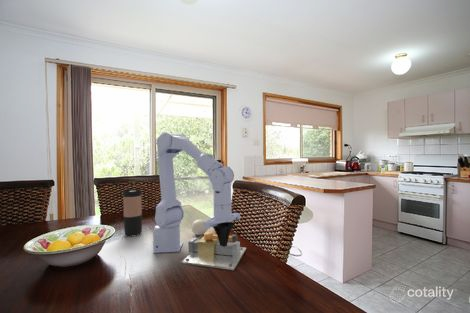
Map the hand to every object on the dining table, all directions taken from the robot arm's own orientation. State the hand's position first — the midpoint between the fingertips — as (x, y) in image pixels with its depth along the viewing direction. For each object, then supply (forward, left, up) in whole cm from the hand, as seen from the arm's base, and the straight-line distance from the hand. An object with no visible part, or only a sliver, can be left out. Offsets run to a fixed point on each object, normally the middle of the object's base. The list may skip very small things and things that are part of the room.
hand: (223, 245), depth 74 cm
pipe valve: (-3, +7, -5) cm, 10 cm away
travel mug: (-41, +33, -6) cm, 53 cm away
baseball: (-10, +28, -6) cm, 30 cm away
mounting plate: (-3, +5, -6) cm, 8 cm away
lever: (-1, +6, 0) cm, 6 cm away
